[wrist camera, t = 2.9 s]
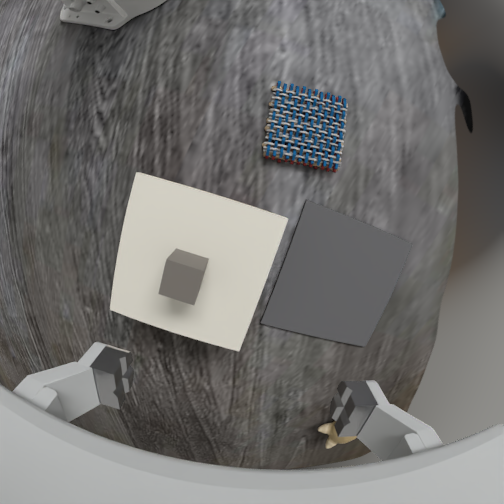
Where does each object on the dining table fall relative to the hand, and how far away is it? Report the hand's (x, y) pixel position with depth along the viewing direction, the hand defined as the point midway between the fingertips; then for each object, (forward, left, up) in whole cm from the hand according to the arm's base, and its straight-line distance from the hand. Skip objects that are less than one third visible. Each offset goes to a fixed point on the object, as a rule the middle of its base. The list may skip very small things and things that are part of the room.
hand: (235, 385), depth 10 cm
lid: (-4, -3, -21) cm, 22 cm away
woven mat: (+4, +16, -28) cm, 32 cm away
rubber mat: (+16, -2, -27) cm, 31 cm away
